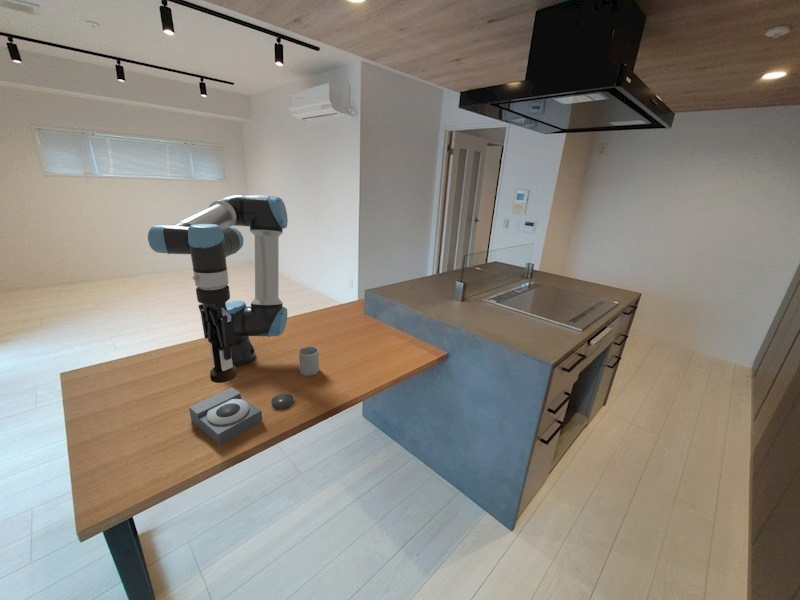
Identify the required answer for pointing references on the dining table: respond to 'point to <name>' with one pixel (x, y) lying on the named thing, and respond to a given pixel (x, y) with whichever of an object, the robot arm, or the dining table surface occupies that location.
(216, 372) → the brown wooden pepper mill
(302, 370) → the cup
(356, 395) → the dining table surface
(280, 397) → the dark grey dome
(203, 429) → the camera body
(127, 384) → the dining table surface
